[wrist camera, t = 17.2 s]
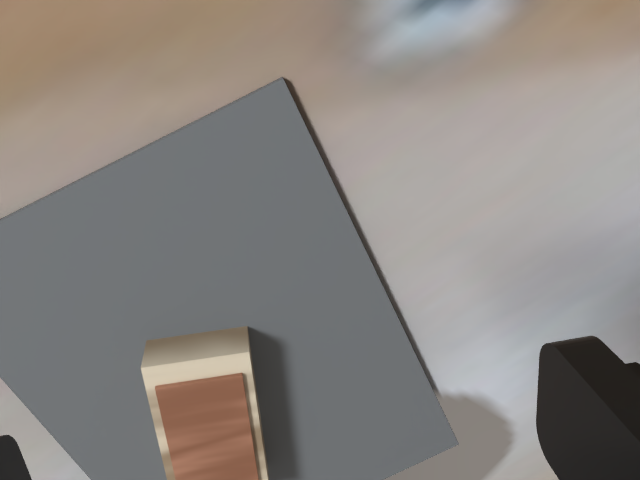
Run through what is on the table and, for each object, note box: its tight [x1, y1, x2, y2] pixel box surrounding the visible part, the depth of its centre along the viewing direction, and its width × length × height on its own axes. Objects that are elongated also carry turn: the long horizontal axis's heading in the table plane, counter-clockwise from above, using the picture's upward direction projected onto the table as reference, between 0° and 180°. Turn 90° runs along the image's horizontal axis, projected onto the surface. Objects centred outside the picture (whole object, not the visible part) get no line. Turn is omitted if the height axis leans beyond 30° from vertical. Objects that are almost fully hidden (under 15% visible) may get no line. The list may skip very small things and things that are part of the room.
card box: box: [141, 326, 269, 480], centre depth 40 cm, size 3×6×12 cm
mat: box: [0, 77, 459, 480], centre depth 41 cm, size 24×30×1 cm
